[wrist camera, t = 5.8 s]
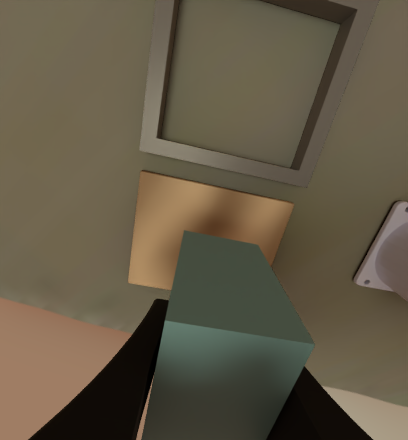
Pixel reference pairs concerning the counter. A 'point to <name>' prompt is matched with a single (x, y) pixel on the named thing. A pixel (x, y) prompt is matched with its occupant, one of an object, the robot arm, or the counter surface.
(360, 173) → the counter surface
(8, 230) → the counter surface
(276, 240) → the board
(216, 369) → the block
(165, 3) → the grey flat square frame
